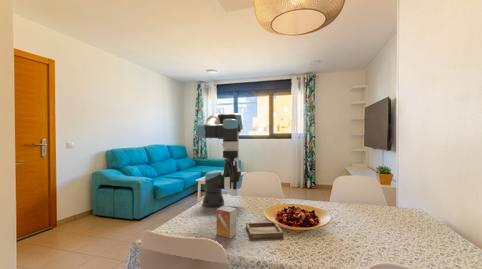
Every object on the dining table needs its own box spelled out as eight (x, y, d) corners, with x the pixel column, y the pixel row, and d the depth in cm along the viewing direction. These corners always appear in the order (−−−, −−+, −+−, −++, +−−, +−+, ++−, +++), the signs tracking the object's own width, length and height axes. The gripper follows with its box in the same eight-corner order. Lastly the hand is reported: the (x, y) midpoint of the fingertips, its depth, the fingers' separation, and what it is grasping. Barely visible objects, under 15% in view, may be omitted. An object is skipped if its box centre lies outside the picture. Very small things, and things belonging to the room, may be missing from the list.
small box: (216, 235, 115) (216, 209, 115) (223, 230, 120) (223, 205, 120) (230, 238, 111) (230, 211, 111) (236, 233, 116) (236, 208, 116)
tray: (246, 227, 124) (246, 223, 124) (275, 226, 126) (275, 221, 126) (250, 239, 110) (250, 234, 110) (283, 237, 112) (283, 232, 112)
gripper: (217, 149, 126) (217, 187, 126) (229, 151, 103) (229, 199, 103) (231, 148, 129) (231, 186, 129) (245, 151, 105) (245, 198, 105)
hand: (230, 192), depth 116 cm, fingers open, 13 cm apart
